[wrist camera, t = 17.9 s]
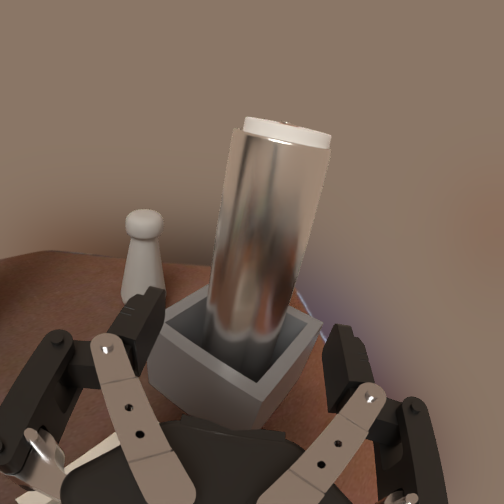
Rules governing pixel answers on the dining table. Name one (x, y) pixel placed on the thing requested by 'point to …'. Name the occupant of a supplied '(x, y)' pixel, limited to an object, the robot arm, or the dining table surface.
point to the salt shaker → (143, 254)
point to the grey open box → (225, 367)
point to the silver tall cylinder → (261, 239)
